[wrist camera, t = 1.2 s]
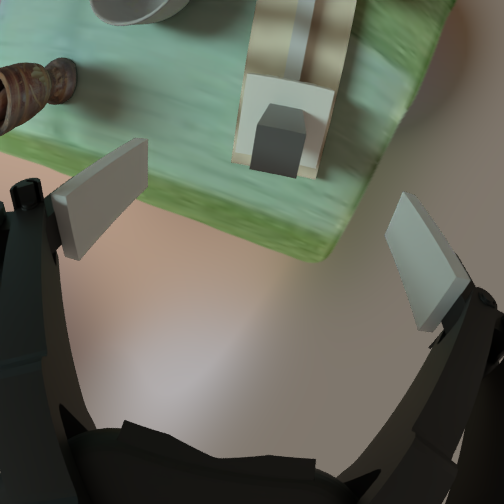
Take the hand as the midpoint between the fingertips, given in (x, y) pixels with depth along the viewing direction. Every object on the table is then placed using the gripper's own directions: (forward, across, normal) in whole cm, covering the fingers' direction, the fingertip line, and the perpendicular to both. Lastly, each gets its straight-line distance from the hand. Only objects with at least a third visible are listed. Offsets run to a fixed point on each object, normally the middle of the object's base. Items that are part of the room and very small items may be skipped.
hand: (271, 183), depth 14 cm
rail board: (+21, 0, +6) cm, 22 cm away
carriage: (+19, 0, 0) cm, 19 cm away
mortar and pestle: (+21, -33, +1) cm, 39 cm away
